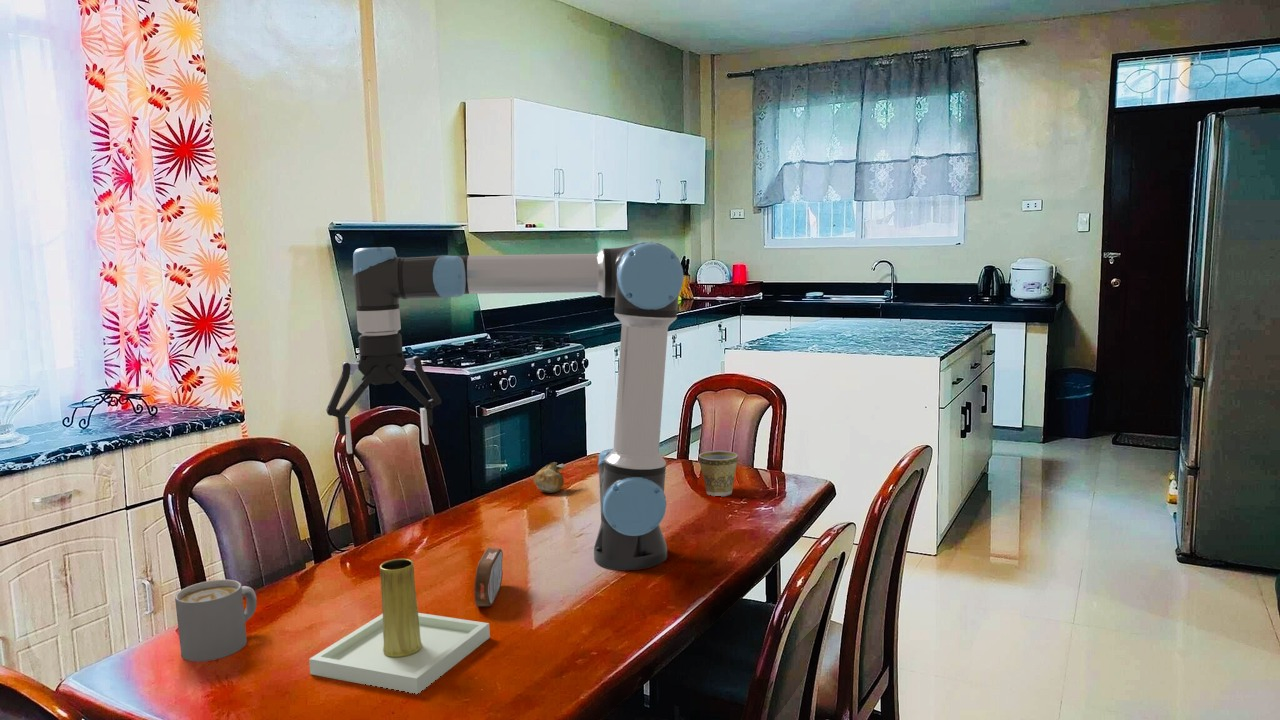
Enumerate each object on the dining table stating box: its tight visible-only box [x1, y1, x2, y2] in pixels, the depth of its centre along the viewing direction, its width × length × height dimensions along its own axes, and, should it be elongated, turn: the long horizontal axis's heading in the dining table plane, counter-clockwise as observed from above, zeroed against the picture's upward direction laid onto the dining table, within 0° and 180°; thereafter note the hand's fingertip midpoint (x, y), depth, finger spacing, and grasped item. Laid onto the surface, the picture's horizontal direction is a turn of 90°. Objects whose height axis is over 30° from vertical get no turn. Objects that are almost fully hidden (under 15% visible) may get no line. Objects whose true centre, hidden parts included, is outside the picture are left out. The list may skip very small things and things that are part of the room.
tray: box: [308, 612, 491, 695], centre depth 144 cm, size 20×20×2 cm
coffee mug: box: [174, 578, 258, 663], centre depth 150 cm, size 13×10×10 cm
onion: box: [533, 461, 565, 494], centre depth 236 cm, size 8×8×8 cm
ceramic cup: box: [698, 450, 738, 497], centre depth 231 cm, size 13×10×10 cm
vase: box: [379, 558, 422, 657], centre depth 143 cm, size 6×6×14 cm
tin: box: [474, 547, 504, 608], centre depth 166 cm, size 15×3×8 cm, turn 178°
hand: (388, 447), depth 164 cm, fingers open, 13 cm apart
